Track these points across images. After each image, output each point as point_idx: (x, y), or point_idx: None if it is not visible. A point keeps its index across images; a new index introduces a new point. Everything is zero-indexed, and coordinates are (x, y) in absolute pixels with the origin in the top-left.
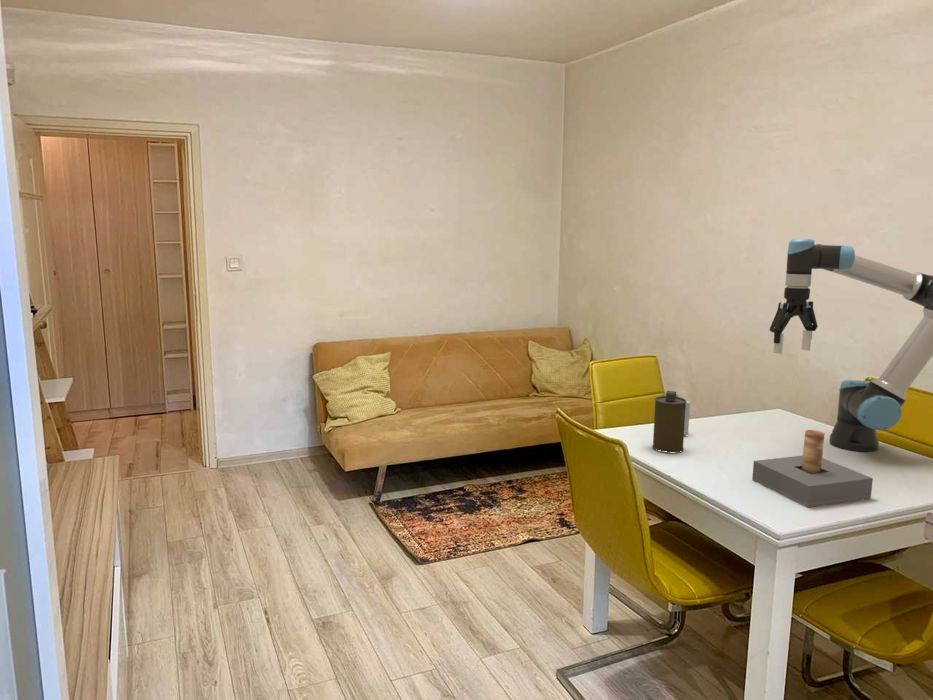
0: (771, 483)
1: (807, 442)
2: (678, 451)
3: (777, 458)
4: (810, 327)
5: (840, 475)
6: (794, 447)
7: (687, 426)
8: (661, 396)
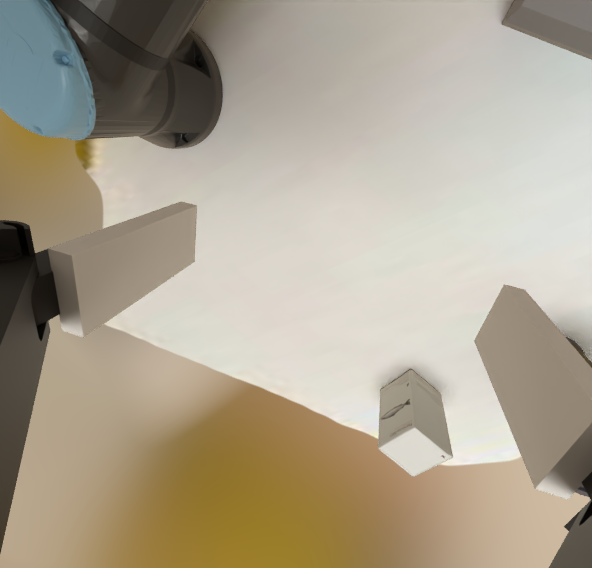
0: None
1: None
2: None
3: None
4: (21, 278)
5: None
6: (305, 177)
7: (413, 384)
8: (580, 491)
